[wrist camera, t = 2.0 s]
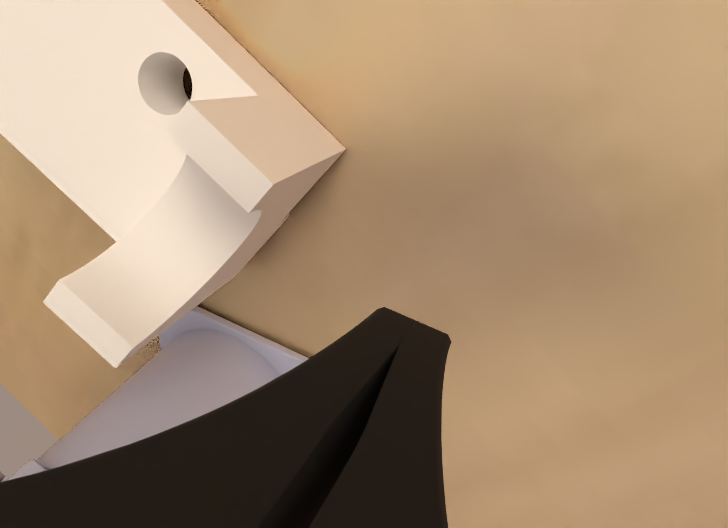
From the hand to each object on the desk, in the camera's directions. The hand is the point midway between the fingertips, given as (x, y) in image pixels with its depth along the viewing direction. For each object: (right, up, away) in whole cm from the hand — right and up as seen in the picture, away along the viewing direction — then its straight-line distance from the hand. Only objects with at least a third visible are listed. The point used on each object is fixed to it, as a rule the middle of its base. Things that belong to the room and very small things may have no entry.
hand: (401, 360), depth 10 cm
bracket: (-7, +9, +10) cm, 15 cm away
